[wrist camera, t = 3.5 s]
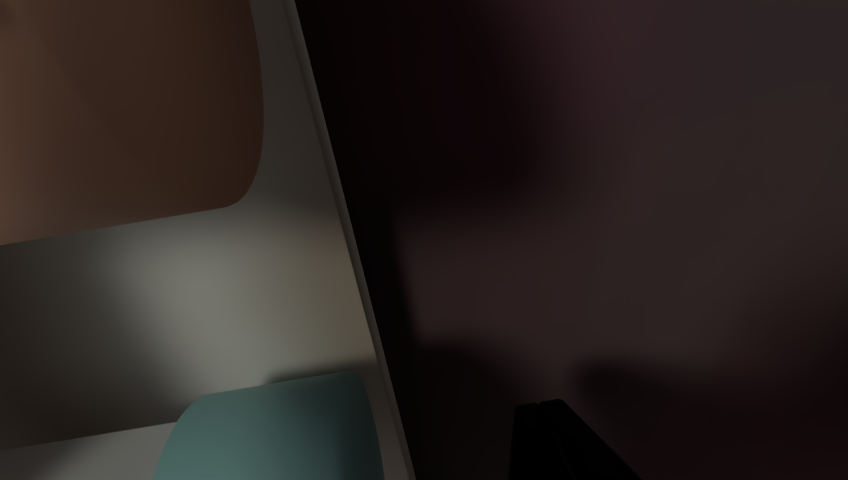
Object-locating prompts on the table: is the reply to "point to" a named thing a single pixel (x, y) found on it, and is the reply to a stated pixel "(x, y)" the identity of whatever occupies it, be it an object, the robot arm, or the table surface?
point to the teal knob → (228, 440)
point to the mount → (200, 291)
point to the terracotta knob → (124, 112)
